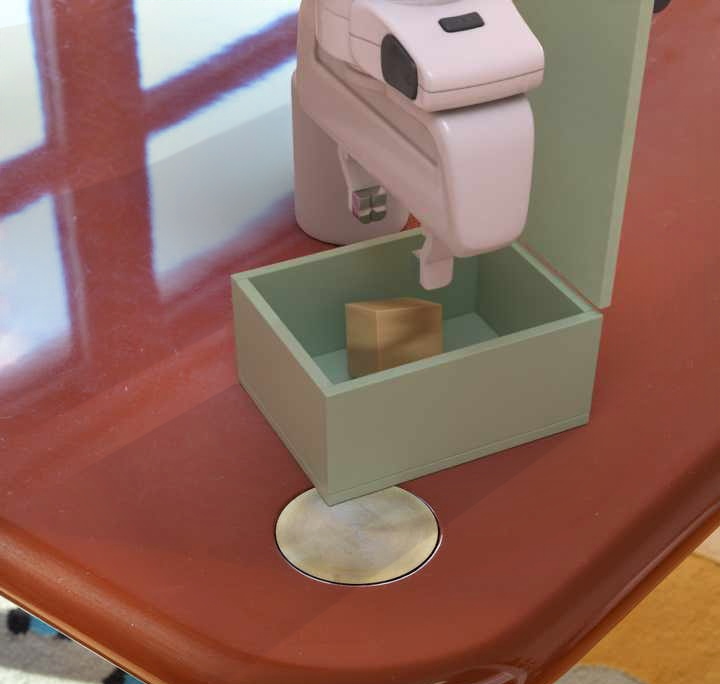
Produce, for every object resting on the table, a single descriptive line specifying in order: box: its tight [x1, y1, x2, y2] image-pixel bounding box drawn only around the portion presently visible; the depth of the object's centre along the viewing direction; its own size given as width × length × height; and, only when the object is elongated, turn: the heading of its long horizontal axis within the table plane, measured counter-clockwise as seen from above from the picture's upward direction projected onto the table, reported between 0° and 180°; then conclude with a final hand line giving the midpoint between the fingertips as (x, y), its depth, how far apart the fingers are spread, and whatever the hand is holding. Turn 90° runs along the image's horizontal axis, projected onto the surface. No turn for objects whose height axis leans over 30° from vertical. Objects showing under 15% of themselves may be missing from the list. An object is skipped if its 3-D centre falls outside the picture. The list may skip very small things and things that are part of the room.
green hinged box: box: [230, 226, 604, 507], centre depth 82 cm, size 18×14×8 cm
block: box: [345, 297, 443, 378], centre depth 83 cm, size 4×4×4 cm
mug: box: [290, 67, 410, 246], centre depth 99 cm, size 12×8×11 cm
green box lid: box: [512, 0, 672, 310], centre depth 77 cm, size 18×14×5 cm
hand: (398, 248), depth 77 cm, fingers open, 6 cm apart
